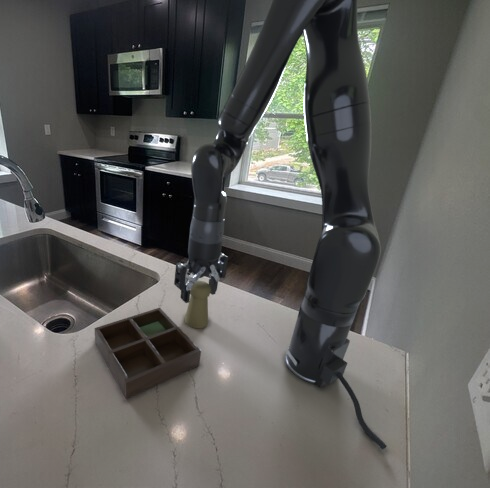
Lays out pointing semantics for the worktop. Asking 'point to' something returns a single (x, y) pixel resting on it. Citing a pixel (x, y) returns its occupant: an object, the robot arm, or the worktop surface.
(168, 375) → the grid
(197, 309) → the yellow peg doll
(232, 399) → the worktop surface
